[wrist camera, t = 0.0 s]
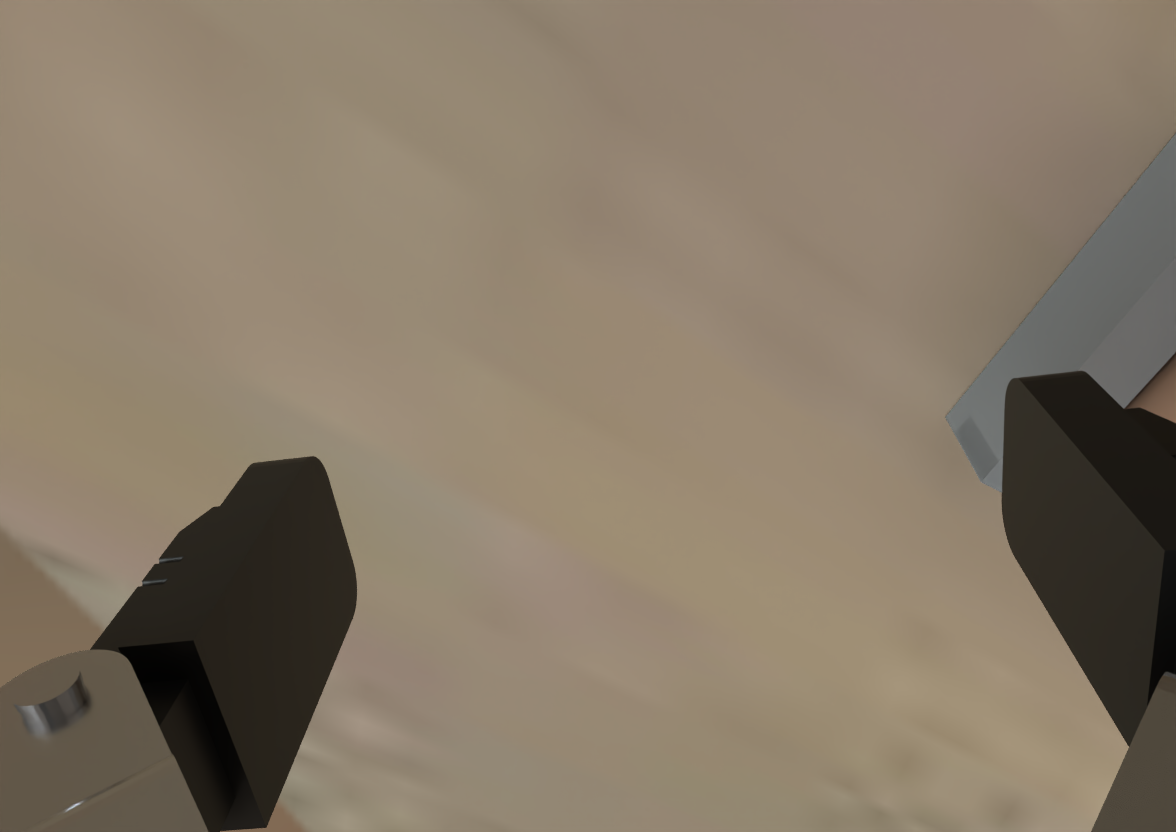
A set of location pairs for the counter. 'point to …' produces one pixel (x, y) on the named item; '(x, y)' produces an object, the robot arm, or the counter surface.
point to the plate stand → (1090, 317)
